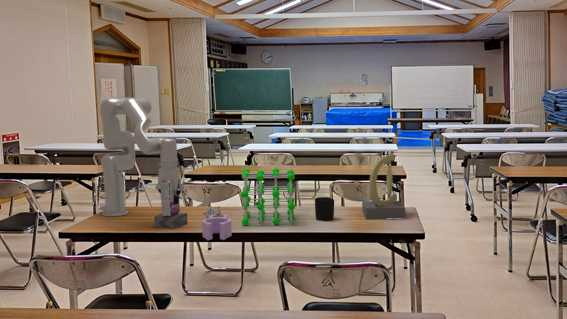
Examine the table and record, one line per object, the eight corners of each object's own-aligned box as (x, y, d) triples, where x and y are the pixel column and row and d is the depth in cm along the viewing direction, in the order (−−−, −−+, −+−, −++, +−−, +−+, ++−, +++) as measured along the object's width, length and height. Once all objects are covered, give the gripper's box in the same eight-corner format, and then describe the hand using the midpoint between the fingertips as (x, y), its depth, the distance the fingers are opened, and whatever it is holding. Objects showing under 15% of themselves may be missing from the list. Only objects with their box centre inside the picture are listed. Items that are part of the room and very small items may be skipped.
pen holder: (337, 218, 298) (337, 197, 297) (330, 221, 289) (330, 201, 288) (319, 216, 302) (319, 196, 300) (311, 220, 293) (311, 199, 292)
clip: (205, 229, 278) (205, 214, 277) (233, 229, 278) (232, 214, 277) (200, 240, 258) (200, 224, 257) (230, 240, 258) (230, 223, 257)
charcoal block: (154, 227, 284) (154, 216, 283) (167, 222, 294) (166, 211, 294) (175, 228, 280) (175, 217, 280) (187, 223, 290) (187, 213, 290)
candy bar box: (170, 211, 293) (169, 177, 291) (180, 211, 292) (179, 177, 290) (160, 216, 282) (159, 180, 280) (171, 216, 281) (170, 181, 279)
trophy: (405, 219, 293) (405, 157, 290) (366, 219, 294) (366, 157, 290) (399, 211, 312) (399, 152, 308) (362, 211, 312) (362, 153, 309)
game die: (217, 230, 292) (229, 213, 292) (210, 227, 284) (222, 209, 285) (204, 219, 296) (216, 202, 296) (196, 216, 288) (209, 199, 288)
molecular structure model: (244, 215, 307) (243, 167, 304) (294, 214, 307) (293, 166, 304) (241, 226, 283) (240, 174, 280) (295, 225, 283) (294, 173, 280)
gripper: (148, 165, 283) (150, 204, 285) (181, 166, 277) (182, 206, 280) (157, 163, 290) (158, 201, 292) (189, 164, 284) (190, 203, 287)
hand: (170, 203), depth 286 cm, fingers closed on candy bar box, 5 cm apart
